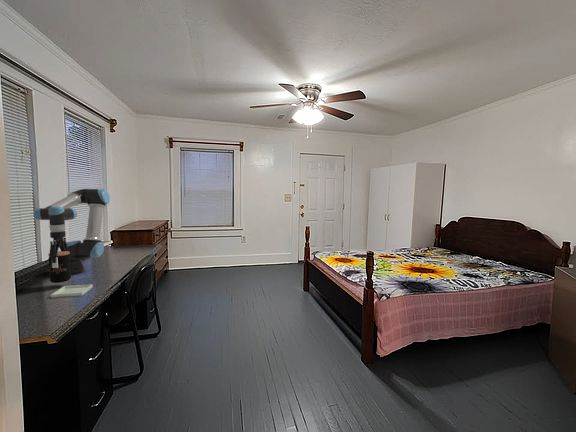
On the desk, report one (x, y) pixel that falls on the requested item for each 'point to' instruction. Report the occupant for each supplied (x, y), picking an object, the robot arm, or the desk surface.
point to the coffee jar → (60, 268)
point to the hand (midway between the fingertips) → (59, 265)
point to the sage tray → (72, 291)
